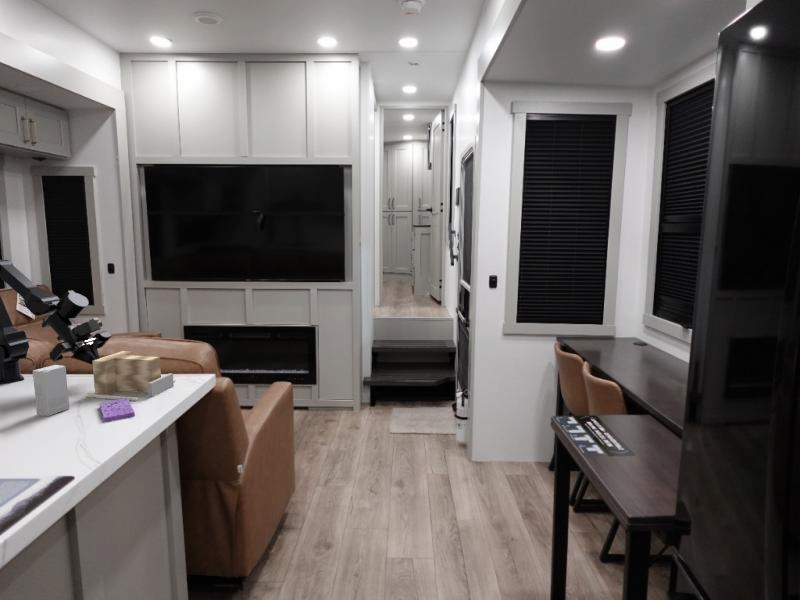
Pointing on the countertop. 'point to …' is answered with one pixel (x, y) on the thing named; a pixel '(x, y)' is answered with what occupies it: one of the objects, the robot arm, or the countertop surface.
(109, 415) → the sponges
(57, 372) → the skincare box
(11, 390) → the countertop surface
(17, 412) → the countertop surface
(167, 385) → the tray
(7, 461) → the countertop surface
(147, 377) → the t block
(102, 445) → the countertop surface
